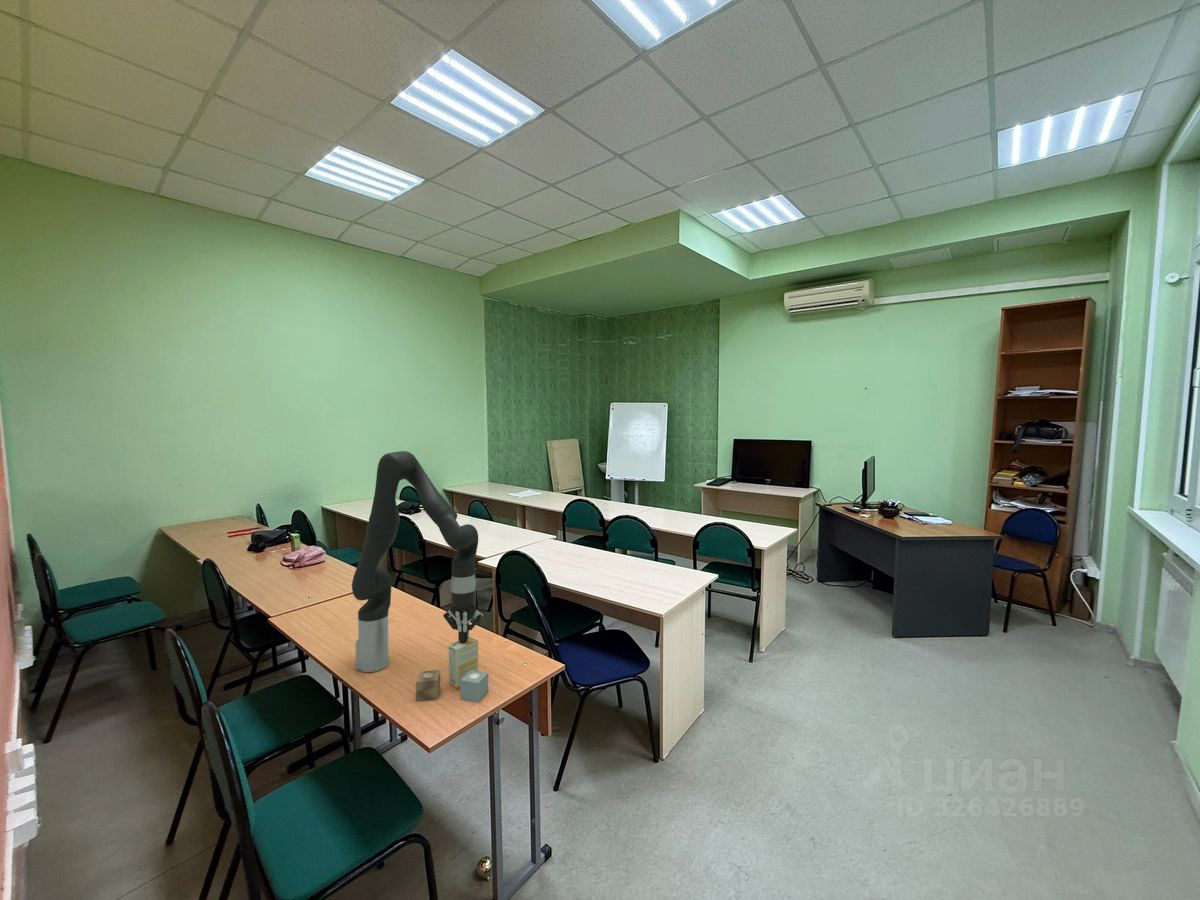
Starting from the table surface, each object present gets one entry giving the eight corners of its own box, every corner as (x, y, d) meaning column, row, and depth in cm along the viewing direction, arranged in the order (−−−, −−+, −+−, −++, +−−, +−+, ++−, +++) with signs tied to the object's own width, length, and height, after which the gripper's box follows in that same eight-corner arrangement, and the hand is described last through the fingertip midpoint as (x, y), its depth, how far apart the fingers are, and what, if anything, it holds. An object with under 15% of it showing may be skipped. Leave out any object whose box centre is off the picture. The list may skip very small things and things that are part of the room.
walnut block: (416, 701, 139) (415, 681, 138) (420, 690, 145) (419, 671, 144) (437, 699, 140) (437, 679, 139) (440, 688, 146) (440, 669, 145)
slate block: (460, 699, 140) (460, 679, 140) (470, 689, 146) (470, 669, 145) (478, 702, 138) (478, 682, 138) (488, 691, 144) (488, 672, 144)
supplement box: (470, 674, 154) (470, 635, 154) (479, 679, 151) (478, 639, 151) (448, 684, 148) (447, 644, 147) (456, 690, 145) (456, 648, 144)
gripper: (438, 591, 145) (438, 646, 146) (479, 593, 144) (480, 648, 145) (447, 584, 152) (448, 636, 153) (487, 585, 151) (487, 637, 152)
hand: (463, 642), depth 149 cm, fingers closed
